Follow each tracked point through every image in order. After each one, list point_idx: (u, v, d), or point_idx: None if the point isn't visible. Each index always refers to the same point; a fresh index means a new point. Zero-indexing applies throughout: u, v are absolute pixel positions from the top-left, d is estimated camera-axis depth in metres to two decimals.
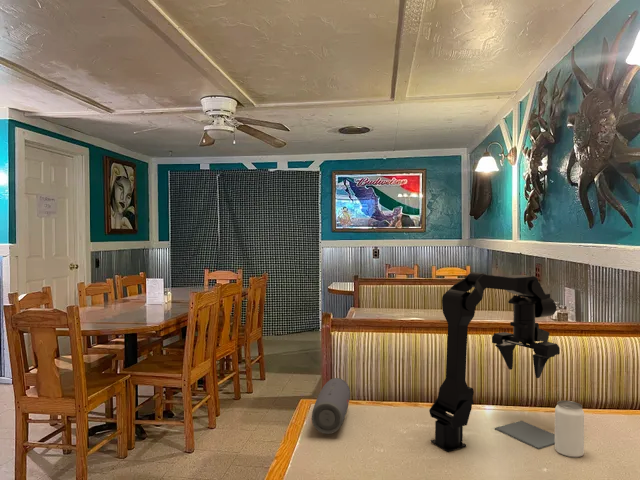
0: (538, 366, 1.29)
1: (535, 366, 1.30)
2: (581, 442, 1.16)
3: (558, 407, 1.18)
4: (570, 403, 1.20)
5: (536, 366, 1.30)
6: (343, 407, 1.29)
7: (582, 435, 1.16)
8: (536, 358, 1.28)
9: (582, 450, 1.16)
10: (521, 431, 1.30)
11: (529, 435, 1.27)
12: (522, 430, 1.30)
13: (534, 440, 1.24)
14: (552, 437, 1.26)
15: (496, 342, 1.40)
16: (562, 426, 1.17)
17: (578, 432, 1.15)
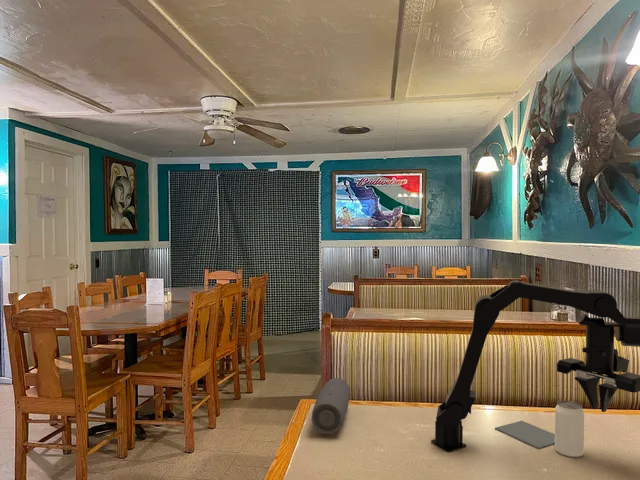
0: (605, 398, 1.09)
1: (601, 398, 1.09)
2: (581, 442, 1.16)
3: (558, 407, 1.18)
4: (570, 403, 1.20)
5: (603, 398, 1.09)
6: (343, 407, 1.29)
7: (582, 435, 1.16)
8: (603, 389, 1.08)
9: (582, 450, 1.16)
10: (521, 431, 1.30)
11: (529, 435, 1.27)
12: (522, 430, 1.30)
13: (534, 440, 1.24)
14: (552, 437, 1.26)
15: (563, 371, 1.16)
16: (562, 426, 1.17)
17: (578, 432, 1.15)
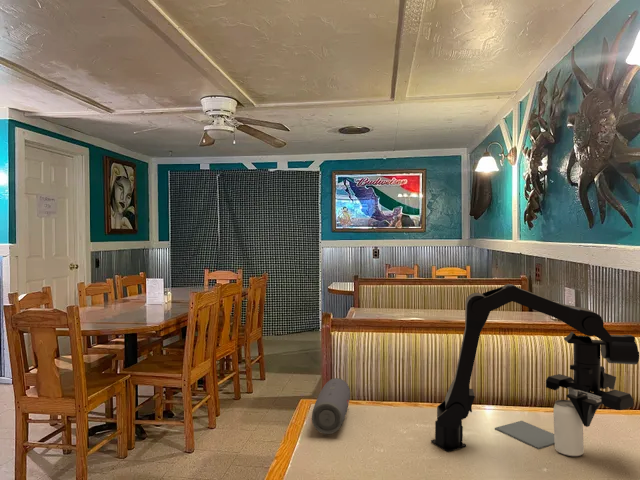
0: (588, 413, 1.12)
1: (585, 413, 1.13)
2: (580, 441, 1.16)
3: (556, 406, 1.19)
4: (568, 402, 1.20)
5: (586, 414, 1.12)
6: (343, 407, 1.29)
7: (581, 433, 1.16)
8: (586, 405, 1.11)
9: (582, 449, 1.16)
10: (521, 431, 1.30)
11: (529, 435, 1.27)
12: (522, 430, 1.30)
13: (534, 440, 1.24)
14: (552, 437, 1.26)
15: (551, 387, 1.19)
16: (561, 425, 1.17)
17: (577, 430, 1.15)
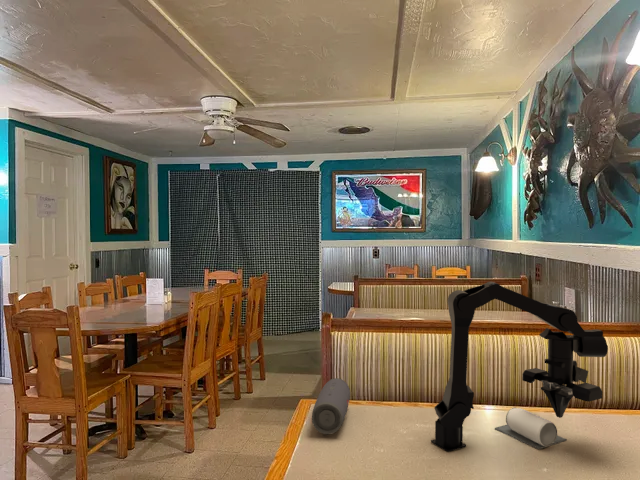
0: (561, 405, 1.19)
1: (558, 405, 1.19)
2: (530, 422, 1.23)
3: None
4: None
5: (559, 405, 1.19)
6: (343, 407, 1.29)
7: (526, 418, 1.24)
8: (559, 397, 1.18)
9: (538, 423, 1.21)
10: None
11: None
12: None
13: None
14: None
15: (527, 380, 1.25)
16: (520, 433, 1.26)
17: (520, 421, 1.25)
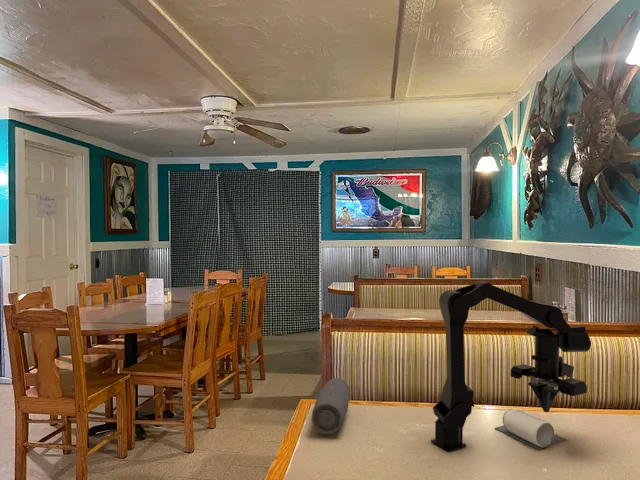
0: (547, 400, 1.22)
1: (544, 400, 1.22)
2: (525, 426, 1.22)
3: None
4: None
5: (545, 400, 1.22)
6: (343, 407, 1.29)
7: (521, 422, 1.24)
8: (545, 392, 1.21)
9: (532, 427, 1.20)
10: None
11: None
12: None
13: None
14: None
15: (515, 376, 1.29)
16: (519, 436, 1.26)
17: (516, 426, 1.25)
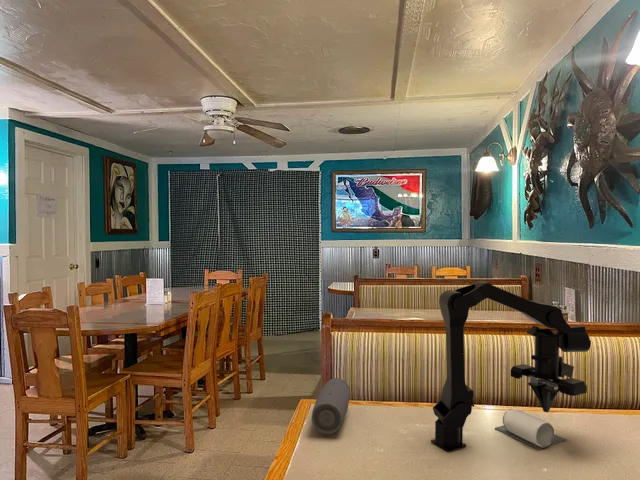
0: (547, 400, 1.22)
1: (544, 400, 1.22)
2: (525, 426, 1.22)
3: None
4: None
5: (545, 400, 1.22)
6: (343, 407, 1.29)
7: (521, 422, 1.24)
8: (545, 392, 1.21)
9: (532, 427, 1.20)
10: None
11: None
12: None
13: None
14: None
15: (515, 376, 1.29)
16: (519, 436, 1.26)
17: (516, 426, 1.25)
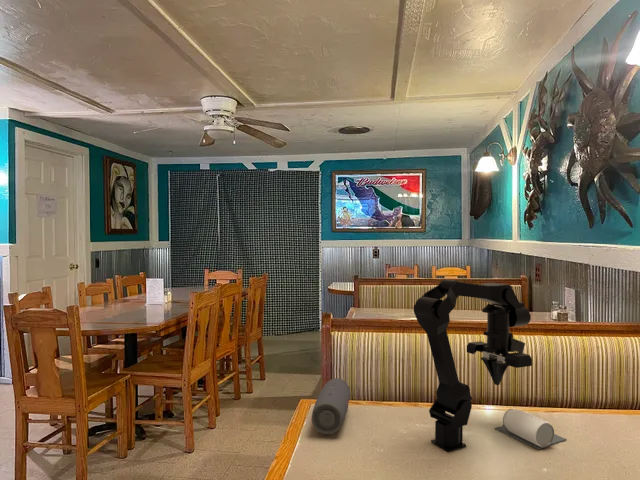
0: (497, 373, 1.29)
1: (494, 373, 1.30)
2: (525, 426, 1.22)
3: None
4: None
5: (495, 373, 1.30)
6: (343, 407, 1.29)
7: (521, 422, 1.24)
8: (495, 365, 1.28)
9: (532, 427, 1.20)
10: None
11: None
12: None
13: None
14: None
15: (470, 351, 1.36)
16: (519, 436, 1.26)
17: (516, 426, 1.25)
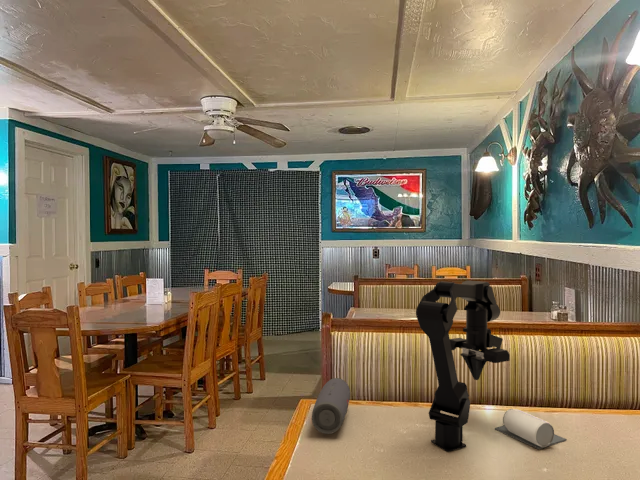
0: (476, 368, 1.33)
1: (473, 368, 1.33)
2: (525, 426, 1.22)
3: None
4: None
5: (474, 368, 1.33)
6: (343, 407, 1.29)
7: (521, 422, 1.24)
8: (474, 361, 1.32)
9: (532, 427, 1.20)
10: None
11: None
12: None
13: None
14: None
15: (450, 348, 1.40)
16: (519, 436, 1.26)
17: (516, 426, 1.25)
